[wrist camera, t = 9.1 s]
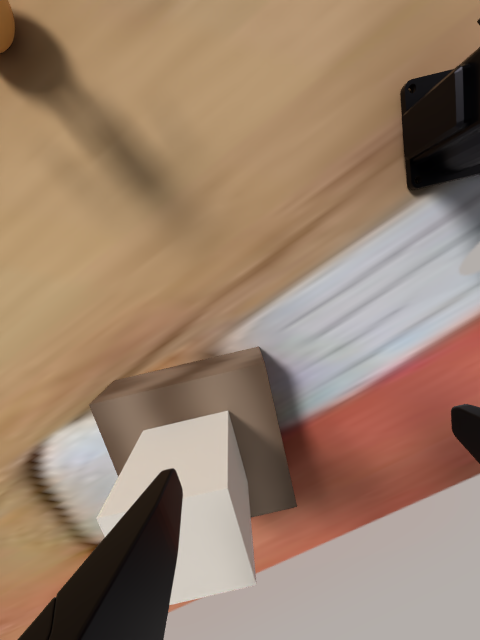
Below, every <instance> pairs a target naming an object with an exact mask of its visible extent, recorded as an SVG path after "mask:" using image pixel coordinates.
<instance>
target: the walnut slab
mask: <svg viewBox="0 0 480 640" xmlns="http://www.w3.org/2000/svg"><path fill="white" fill-rule="evenodd" d="M89 406H90V408H91V411H92V413H93V416H94V418H95V420H96V423H97V425H98V428H99V430H100V433H101V435H102V438H103V440H104V443H105V445H106V448H107V450H108V452H109V455H110V457H111V460H112V462H113V465H114V467H115V470H116V472H117V475H118V477H119V475H120V473H121V471H122V469H123V467H124V466H125V464H126V462H127V460H128V458H129V456H130V454H131V452H132V450H133V449H134V447H135V445H136V443H137V441H138V439H139V437H140V435H141V433H142V432H143V430H147V429H152V428H156V427H160V426H164V425H169V424H173V423H177V422H181V421H186V420H190V419H194V418H198V417H203V416H207V415H211V414H215V413H220V412H224V411H228V412H229V415H230V419H231V423H232V426H233V430H234V434H235V437H236V441H237V445H238V448H239V452H240V456H241V459H242V463H243V466H244V470H245V474H246V477H247V481H248V492H249V504H250V516H251V517H255V516H259V515H264V514H268V513H272V512H277V511H281V510H285V509H290V508H294V507H297V504H296V500H295V495H294V491H293V486H292V482H291V477H290V473H289V469H288V464H287V460H286V455H285V451H284V446H283V442H282V437H281V433H280V429H279V424H278V420H277V415H276V411H275V406H274V402H273V397H272V393H271V389H270V384H269V380H268V375H267V371H266V366H265V362H264V360H263V357H262V354H261V352H260V349H259V347H255V348H251V349H247V350H242V351H238V352H234V353H230V354H225V355H221V356H217V357H213V358H208V359H204V360H200V361H196V362H191V363H187V364H183V365H179V366H174V367H170V368H166V369H162V370H157V371H153V372H149V373H145V374H140V375H136V376H132V377H128V378H123V379H119V380H115V381H113V382H112V383H111V384H110V385H109V386H108V387H107V388H106V389H105V390H104V391H103V392H102V393H101V394H100V395H98V396H97V397H96V398H95V399H94V400H93V401H92V402H91V403H90V404H89Z"/></svg>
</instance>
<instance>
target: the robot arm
mask: <svg viewBox="0 0 480 640" xmlns="http://www.w3.org/2000/svg"><path fill="white" fill-rule="evenodd" d="M477 22H478V23H479V25H480V18H479V20H478V21H477ZM409 88H410V89H411V91H412V93H410V92H409V90H408V89H409ZM400 95H401V108H402V127H403V141H404V154H405V162H406V175H407V185H408V187H409V189H411V190H416V189H420V188H424V187H428V186H433V185H437V184H441V183H445V182H449V181H453V180H458V179H462V178H466V177H470V176H474V175H479V174H480V47H479V48H478V49H477V50H476V51H475V52H474V53H473V54H471V55H470V56H469V57H468V58H467V59H466V60H465V61H463V62H462V63H461V64H460V65H459V66H457V67H456V68H455V69H452V70H448V71H444V72H440V73H436V74H432V75H428V76H423V77H419V78H415V79H411V80H409V81H408V82H407V83H406V84H405V85H404V86H403V88H402V89H401V94H400ZM415 178H416V179H417V181H418V183H417V184H416V183H415ZM451 422H452V431H453V433H454V435H455V437H456V438H457V439H458V440H459V441H460V442H461V443H462V445H463V446H464V447H465V448H466V449H467V450H468V451H469V452H470V454H471V455H472V456H473V457H474V458H475V459H476V460H477V461H478V462H479V464H480V407H476V406H473V405H469V404H463V405H459V406H454V407H453V408H452V409H451ZM182 501H183V490H182V486H181V483H180V480H179V477H178V475H177V472H176V470H175V469H174V468H171V469H166V470H163V471H161V472H160V473H159V474H158V475H157V477H156V478H155V479H154V480H153V481H152V482H151V484H150V485H149V486H148V487H147V488H146V490H145V491H144V492H143V493H142V494H141V495H140V497H139V498H138V499H137V500H136V501H135V503H134V504H133V505H132V506H131V507H130V508H129V510H128V511H127V512H126V513H125V514H124V516H123V517H122V518H121V519H120V520H119V521H118V523H117V524H116V525H115V526H114V527H113V528H112V530H111V531H110V532H109V533H108V534H107V536H106V537H105V538H104V539H103V540H102V541H101V543H100V544H99V545H98V546H97V547H96V549H95V550H94V551H93V552H92V553H91V554H90V556H89V557H88V558H87V559H86V560H85V561H84V563H83V564H82V565H81V566H80V567H79V569H78V570H77V571H76V572H75V573H74V574H73V576H72V577H71V578H70V579H69V580H68V582H67V583H66V584H65V585H64V586H63V587H62V589H61V590H60V591H59V592H58V594H57V596H56V597H54V598H53V599H52V600H51V601H50V603H49V604H48V605H47V606H46V607H45V608H44V610H43V611H42V612H41V613H40V614H39V616H38V617H37V618H36V619H35V620H34V621H33V623H32V624H31V625H30V626H29V627H28V628H27V629H26V631H25V632H24V633H23V634H22V635H21V636H20V637H19V639H18V640H163V638H164V632H165V627H166V621H167V615H168V609H169V604H170V598H171V592H172V586H173V580H174V575H175V569H176V563H177V556H178V548H179V537H180V525H181V513H182Z"/></svg>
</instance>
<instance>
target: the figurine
mask: <svg viewBox="0 0 480 640" xmlns="http://www.w3.org/2000/svg"><path fill="white" fill-rule="evenodd" d="M14 34H15V23H14V17H13V13H12V10H11V7H10V4H9V2H8V0H0V53H2V52H4V51H5V50H7V49H8V48H9V47H10V45H11V44H12V42H13V39H14Z"/></svg>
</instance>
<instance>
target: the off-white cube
mask: <svg viewBox="0 0 480 640" xmlns="http://www.w3.org/2000/svg"><path fill="white" fill-rule="evenodd" d="M171 468H174V469H175V470H176V472H177V475H178V477H179V480H180V483H181V486H182V490H183V501H182V513H181V525H180V537H179V548H178V556H177V563H176V569H175V575H174V580H173V586H172V592H171V598H170V604H169V605H172V604H176V603H181V602H185V601H189V600H194V599H198V598H202V597H207V596H211V595H215V594H219V593H224V592H228V591H233V590H237V589H242V588H246V587H250V586H254V585H256V575H255V563H254V551H253V539H252V528H251V516H250V504H249V492H248V481H247V477H246V474H245V470H244V466H243V463H242V459H241V456H240V452H239V448H238V445H237V441H236V437H235V434H234V430H233V426H232V423H231V419H230V415H229V412H228V411H224V412H220V413H215V414H211V415H207V416H203V417H198V418H194V419H190V420H186V421H181V422H177V423H173V424H169V425H164V426H160V427H156V428H152V429H147V430H143V432H142V433H141V435H140V437H139V439H138V441H137V443H136V445H135V447H134V449H133V450H132V452H131V454H130V456H129V458H128V460H127V462H126V464H125V466H124V467H123V469H122V471H121V473H120V475H119V477H118V479H117V481H116V483H115V484H114V486H113V488H112V490H111V492H110V494H109V496H108V498H107V500H106V501H105V503H104V505H103V507H102V509H101V511H100V513H99V515H98V516H97V518H96V519H97V521H98V523H99V525H100V528H101V530H102V532H103V534H104V536H105V537H106V536H107V534H108V533H109V532H110V531H111V530H112V528H113V527H114V526H115V525H116V524H117V523H118V521H119V520H120V519H121V518H122V517H123V516H124V514H125V513H126V512H127V511H128V510H129V508H130V507H131V506H132V505H133V504H134V503H135V501H136V500H137V499H138V498H139V497H140V495H141V494H142V493H143V492H144V491H145V490H146V488H147V487H148V486H149V485H150V484H151V482H152V481H153V480H154V479H155V478H156V477H157V475H158V474H159V473H160V472H161V471H163V470H166V469H171Z"/></svg>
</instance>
